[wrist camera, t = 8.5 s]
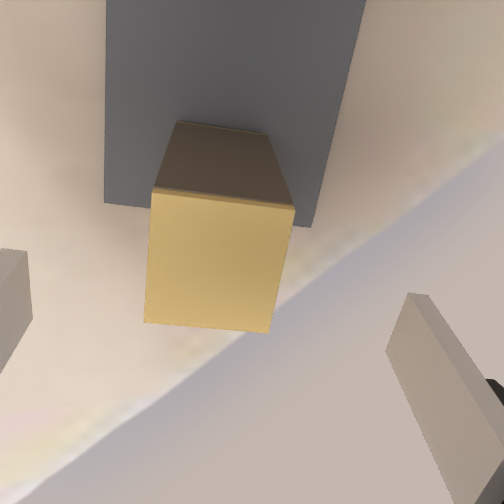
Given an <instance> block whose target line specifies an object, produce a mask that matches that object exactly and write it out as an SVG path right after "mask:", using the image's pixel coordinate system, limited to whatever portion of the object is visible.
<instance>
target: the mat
mask: <svg viewBox="0 0 504 504" xmlns="http://www.w3.org/2000/svg"><path fill="white" fill-rule="evenodd" d="M365 2H366V0H107V1H106V81H105V161H104V203H110V204H118V205H127V206H135V207H143V208H151V198H152V191H153V187H154V183H155V181H156V178H157V175H158V172H159V169H160V166H161V163H162V161H163V158H164V155H165V152H166V149H167V146H168V144H169V141H170V138H171V135H172V132H173V129H174V126H175V124H176V122H177V121H178V122H185V123H192V124H199V125H206V126H212V127H219V128H226V129H233V130H240V131H247V132H253V133H260V134H266V135H267V136H268V138H269V141H270V143H271V146H272V149H273V151H274V154H275V156H276V159H277V161H278V164H279V167H280V169H281V172H282V174H283V177H284V179H285V182H286V185H287V187H288V190H289V192H290V195H291V197H292V200H293V203H294V208H295V215H294V220H293V224H292V225H293V226H301V227H310V228H311V225H312V221H313V216H314V212H315V208H316V204H317V200H318V196H319V192H320V188H321V183H322V179H323V175H324V171H325V167H326V163H327V159H328V155H329V150H330V146H331V142H332V138H333V134H334V130H335V126H336V122H337V117H338V113H339V109H340V105H341V101H342V97H343V93H344V89H345V84H346V80H347V76H348V72H349V68H350V64H351V60H352V56H353V51H354V47H355V43H356V39H357V35H358V31H359V27H360V23H361V18H362V14H363V10H364V6H365Z"/></svg>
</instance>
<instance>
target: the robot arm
mask: <svg viewBox="0 0 504 504" xmlns="http://www.w3.org/2000/svg"><path fill="white" fill-rule="evenodd" d="M32 319H33V316H32V304H31V292H30V280H29V268H28V256H27V251H21V250H12V249H3V248H2V249H1V250H0V373H1V372H2V370H3V368H4V367H5V365H6V363H7V362H8V360H9V358H10V356H11V355H12V353H13V351H14V350H15V348H16V346H17V345H18V343H19V341H20V339H21V338H22V336H23V334H24V333H25V331H26V329H27V328H28V326H29V324H30V323H31V321H32ZM386 354H387V356H388V358H389V361H390V363H391V365H392V367H393V369H394V372H395V374H396V376H397V378H398V380H399V383H400V385H401V387H402V389H403V391H404V394H405V396H406V398H407V400H408V402H409V405H410V407H411V409H412V411H413V413H414V415H415V418H416V420H417V422H418V424H419V427H420V429H421V431H422V433H423V436H424V438H425V440H426V442H427V444H428V447H429V449H430V451H431V453H432V455H433V458H434V460H435V462H436V464H437V466H438V469H439V470H440V473H441V475H442V477H443V480H444V482H445V484H446V486H447V488H448V491H449V493H450V495H451V497H452V499H453V501H454V504H504V388H503V387H502V386H501V385H500V384H499V383H498V382H497V381H495V380H493V379H485V378H484V377H483V375H482V374H481V372H480V371H479V369H478V368H477V366H476V365H475V364H474V362H473V361H472V359H471V357H470V356H469V355H468V353H467V352H466V351H465V349H464V347H463V346H462V344H461V343H460V341H459V340H458V338H457V337H456V336H455V334H454V333H453V331H452V330H451V328H450V327H449V325H448V324H447V322H446V321H445V319H444V318H443V316H442V315H441V313H440V312H439V310H438V309H437V308H436V306H435V305H434V303H433V302H432V301H431V299H430V298H429V296H428V295H423V294H413V293H408V294H407V297H406V299H405V302H404V305H403V307H402V310H401V312H400V315H399V318H398V320H397V322H396V325H395V328H394V330H393V333H392V335H391V338H390V340H389V343H388V345H387V348H386Z"/></svg>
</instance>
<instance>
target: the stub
mask: <svg viewBox="0 0 504 504" xmlns="http://www.w3.org/2000/svg"><path fill="white" fill-rule="evenodd" d="M294 215H295V208H294V203H293V200H292V197H291V195H290V192H289V190H288V187H287V185H286V182H285V179H284V177H283V174H282V172H281V169H280V167H279V164H278V161H277V159H276V156H275V154H274V151H273V149H272V146H271V143H270V141H269V138H268V136H267V135H266V134H260V133H253V132H247V131H240V130H233V129H226V128H219V127H212V126H206V125H199V124H192V123H185V122H178V121H177V122H176V124H175V126H174V129H173V132H172V135H171V138H170V141H169V144H168V146H167V149H166V152H165V155H164V158H163V161H162V163H161V166H160V169H159V172H158V175H157V178H156V181H155V183H154V187H153V191H152V198H151V213H150V229H149V245H148V261H147V276H146V292H145V308H144V323H155V324H166V325H178V326H189V327H201V328H212V329H224V330H235V331H247V332H259V333H269V328H270V324H271V319H272V315H273V310H274V306H275V301H276V297H277V292H278V288H279V283H280V279H281V274H282V270H283V265H284V261H285V256H286V251H287V247H288V242H289V238H290V233H291V229H292V224H293V220H294Z"/></svg>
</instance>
